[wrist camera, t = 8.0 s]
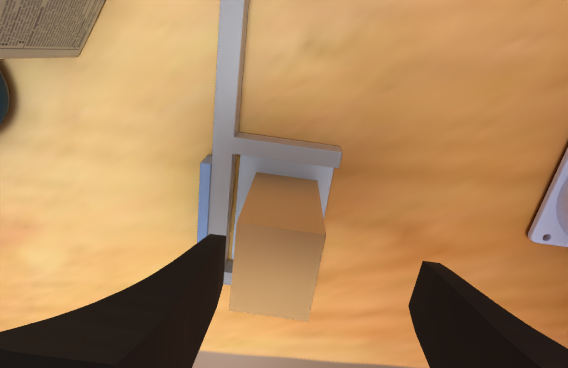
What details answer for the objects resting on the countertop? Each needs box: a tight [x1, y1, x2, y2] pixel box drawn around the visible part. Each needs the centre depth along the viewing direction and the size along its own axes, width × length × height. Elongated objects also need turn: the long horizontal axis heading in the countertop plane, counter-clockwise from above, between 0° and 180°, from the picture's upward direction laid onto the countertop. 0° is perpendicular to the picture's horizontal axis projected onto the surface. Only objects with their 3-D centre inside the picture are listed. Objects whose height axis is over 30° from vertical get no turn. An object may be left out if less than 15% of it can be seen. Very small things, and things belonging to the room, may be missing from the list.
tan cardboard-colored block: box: [229, 172, 326, 322], centre depth 18 cm, size 4×5×7 cm
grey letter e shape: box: [197, 0, 342, 285], centre depth 19 cm, size 8×20×2 cm, turn 173°
